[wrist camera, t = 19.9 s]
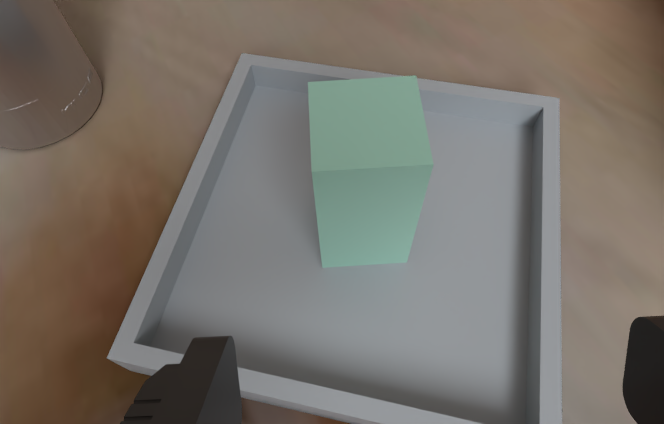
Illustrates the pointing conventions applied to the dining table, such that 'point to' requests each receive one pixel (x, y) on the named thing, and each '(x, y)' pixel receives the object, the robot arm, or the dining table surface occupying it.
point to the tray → (367, 280)
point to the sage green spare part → (368, 168)
